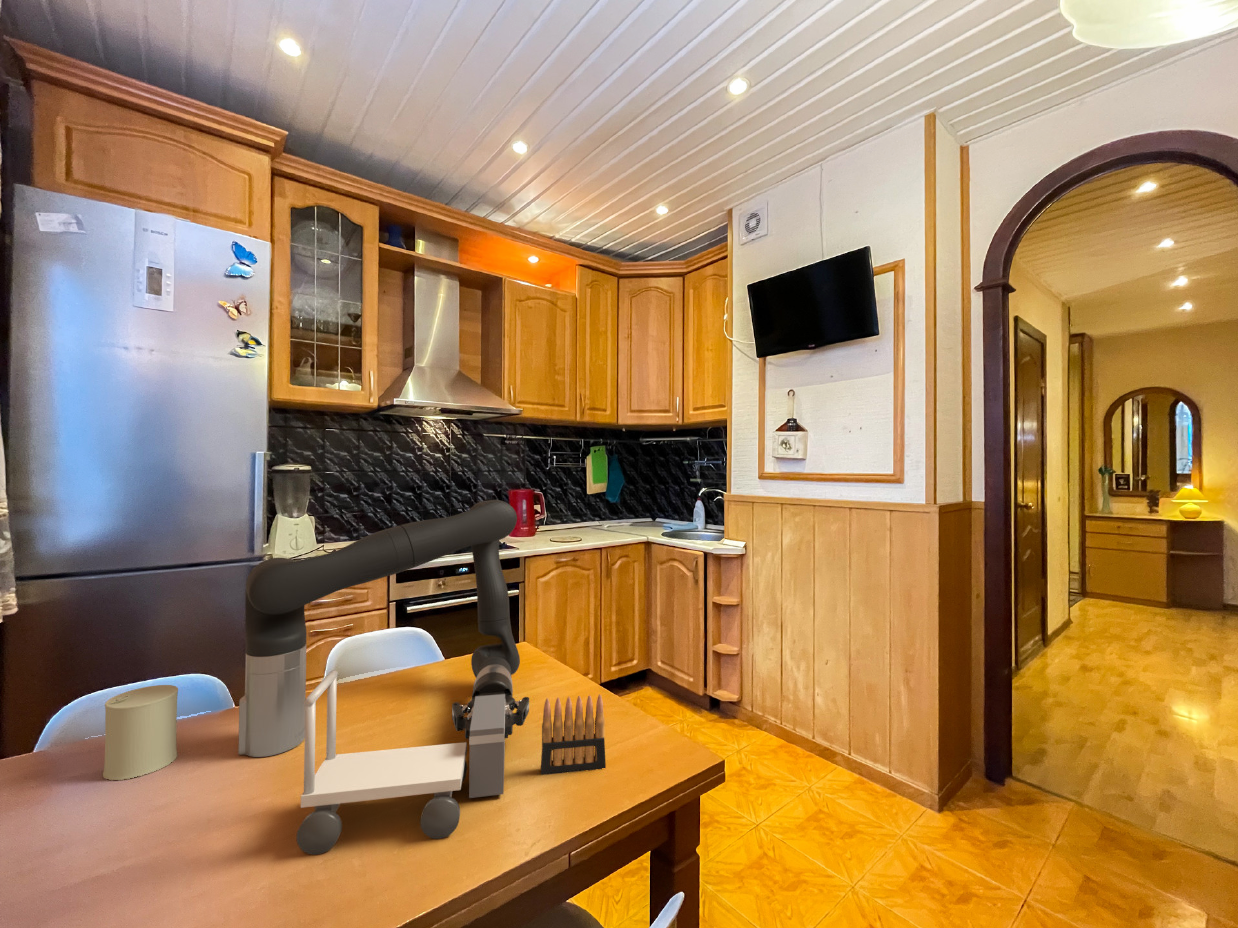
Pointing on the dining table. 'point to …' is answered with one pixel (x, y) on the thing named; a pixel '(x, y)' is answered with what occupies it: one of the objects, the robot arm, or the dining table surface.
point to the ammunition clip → (573, 738)
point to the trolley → (374, 779)
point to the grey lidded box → (487, 746)
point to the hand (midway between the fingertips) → (488, 733)
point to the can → (140, 731)
